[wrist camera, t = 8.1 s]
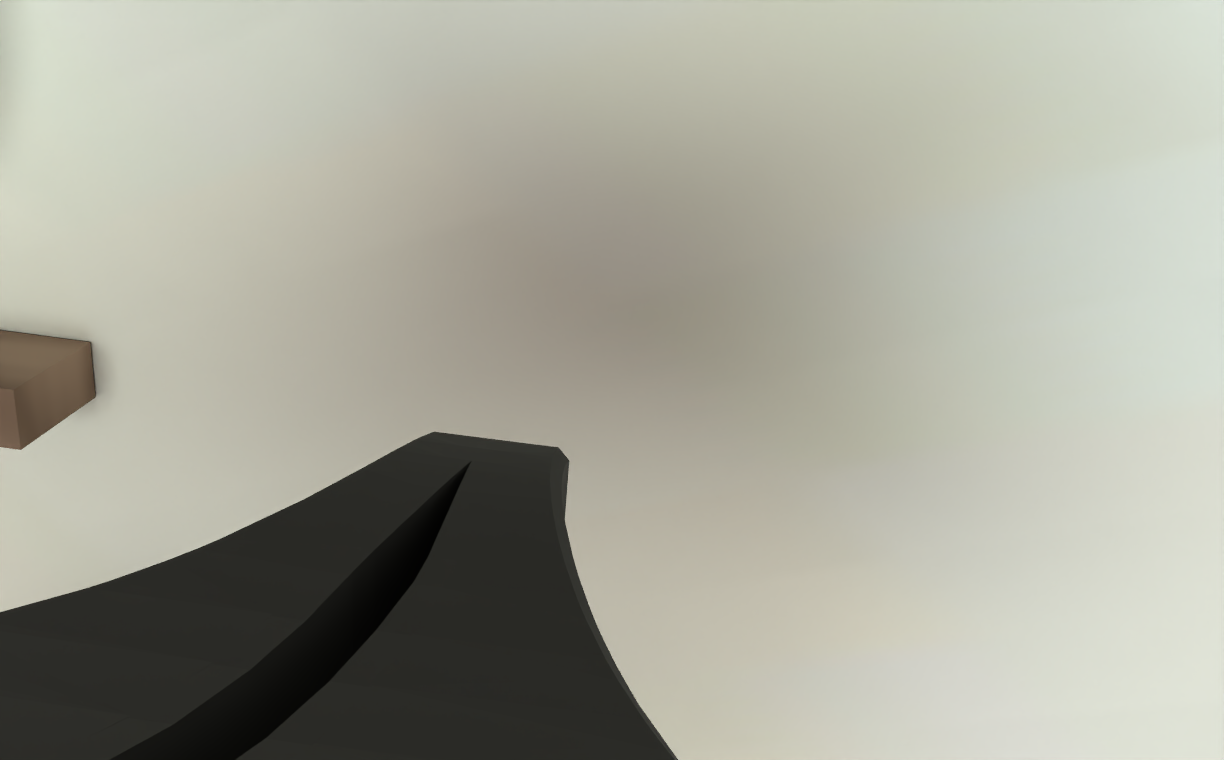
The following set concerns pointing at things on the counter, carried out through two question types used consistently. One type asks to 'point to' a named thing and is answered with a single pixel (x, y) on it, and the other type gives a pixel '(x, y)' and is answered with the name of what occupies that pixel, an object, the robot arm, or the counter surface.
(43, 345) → the walnut rail
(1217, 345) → the counter surface
